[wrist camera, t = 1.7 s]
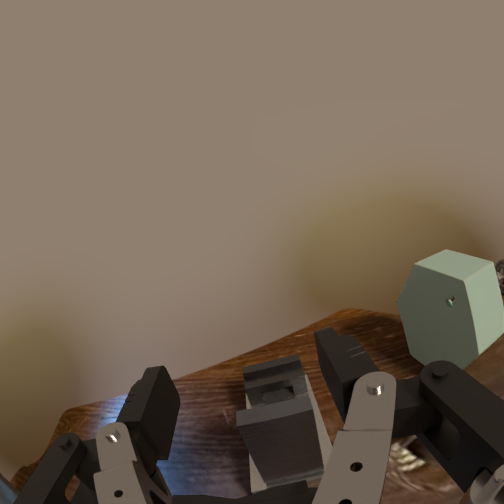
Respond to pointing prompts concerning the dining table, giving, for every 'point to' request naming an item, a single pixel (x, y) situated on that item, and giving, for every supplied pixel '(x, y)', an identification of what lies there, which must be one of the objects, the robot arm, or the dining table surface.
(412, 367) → the dining table surface
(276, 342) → the dining table surface
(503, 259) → the spaceship
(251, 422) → the dark grey tapered block
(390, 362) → the dining table surface
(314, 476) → the white rectangular holder
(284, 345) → the dining table surface
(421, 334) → the mint hexagonal prism
